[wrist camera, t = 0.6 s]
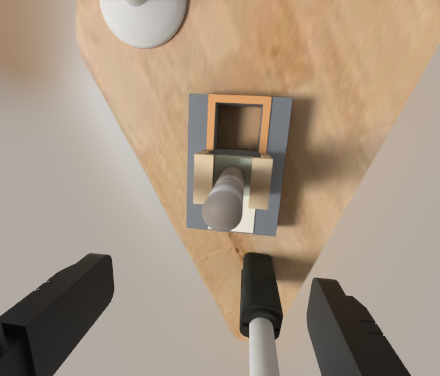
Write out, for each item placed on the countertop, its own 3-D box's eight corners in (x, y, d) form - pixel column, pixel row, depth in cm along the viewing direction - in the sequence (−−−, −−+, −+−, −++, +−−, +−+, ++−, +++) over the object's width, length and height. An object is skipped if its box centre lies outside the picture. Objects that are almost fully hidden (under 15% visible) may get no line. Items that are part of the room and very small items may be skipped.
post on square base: (218, 153, 33) (189, 176, 17) (253, 156, 33) (259, 182, 16) (216, 187, 35) (187, 240, 18) (250, 189, 34) (253, 247, 17)
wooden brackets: (204, 149, 34) (194, 154, 27) (267, 153, 33) (273, 159, 26) (203, 189, 35) (192, 203, 28) (263, 194, 34) (267, 209, 27)
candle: (268, 280, 42) (298, 483, 18) (240, 276, 42) (232, 468, 18) (273, 255, 41) (311, 437, 17) (244, 251, 41) (240, 422, 17)
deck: (195, 97, 36) (188, 93, 32) (287, 101, 34) (292, 97, 30) (192, 218, 41) (186, 228, 37) (272, 226, 39) (275, 236, 35)
